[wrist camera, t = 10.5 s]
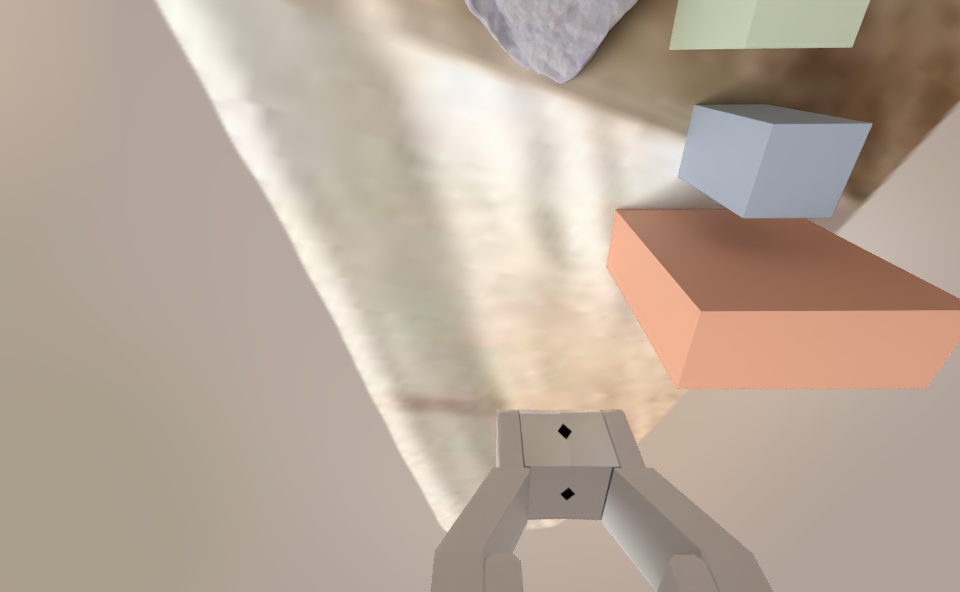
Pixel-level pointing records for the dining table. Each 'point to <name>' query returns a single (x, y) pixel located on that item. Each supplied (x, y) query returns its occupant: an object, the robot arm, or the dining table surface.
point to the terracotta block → (776, 304)
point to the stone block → (550, 31)
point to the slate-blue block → (771, 159)
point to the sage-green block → (766, 24)
